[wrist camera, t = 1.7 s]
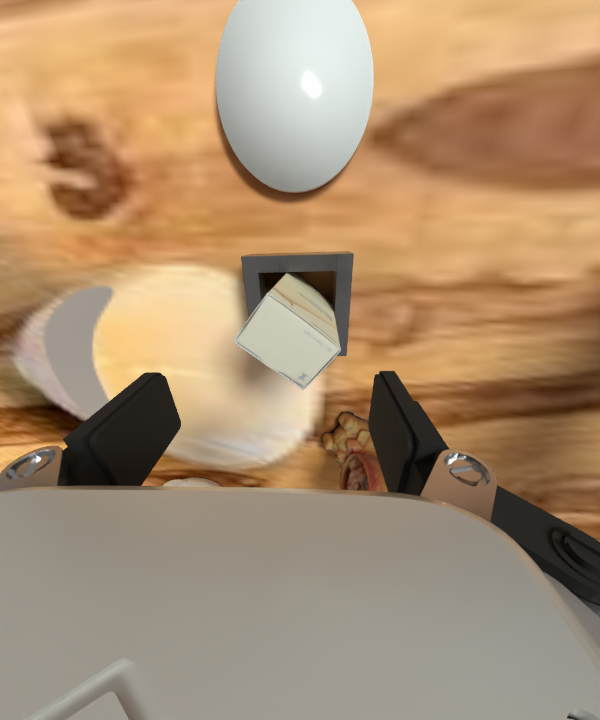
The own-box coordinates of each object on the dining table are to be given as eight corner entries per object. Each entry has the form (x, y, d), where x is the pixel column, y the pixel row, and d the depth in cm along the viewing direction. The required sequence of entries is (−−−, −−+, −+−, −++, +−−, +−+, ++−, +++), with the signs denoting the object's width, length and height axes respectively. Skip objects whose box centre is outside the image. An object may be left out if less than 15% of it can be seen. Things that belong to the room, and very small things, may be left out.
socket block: (348, 251, 24) (353, 253, 21) (342, 343, 28) (346, 355, 25) (250, 254, 24) (241, 256, 21) (260, 343, 29) (254, 356, 26)
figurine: (345, 399, 32) (402, 520, 20) (386, 410, 35) (459, 523, 23) (311, 445, 36) (341, 567, 24) (351, 452, 39) (395, 565, 27)
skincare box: (333, 304, 26) (347, 350, 15) (308, 333, 28) (305, 393, 17) (288, 266, 25) (268, 289, 14) (264, 300, 26) (231, 343, 16)
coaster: (379, -28, 16) (384, -43, 15) (363, 190, 21) (365, 188, 20) (206, -11, 17) (199, -25, 16) (233, 196, 22) (229, 194, 21)
